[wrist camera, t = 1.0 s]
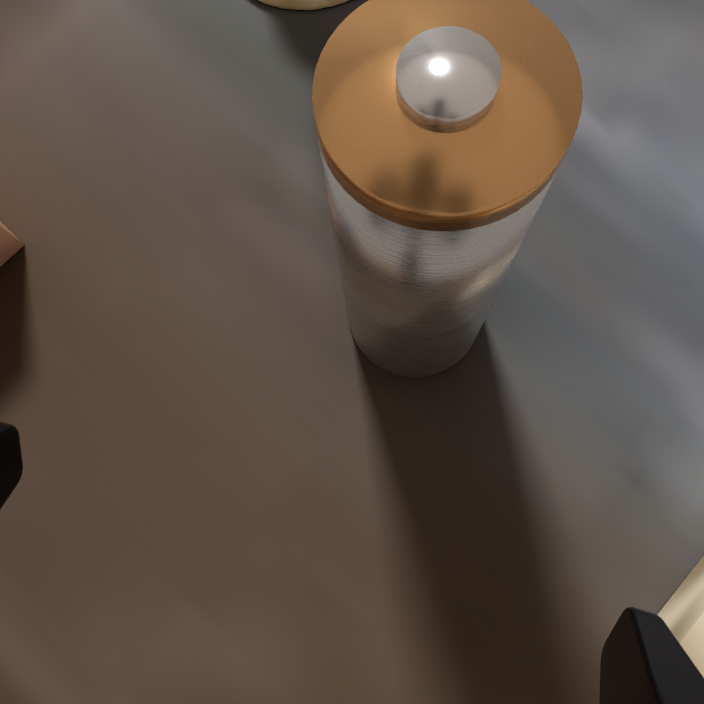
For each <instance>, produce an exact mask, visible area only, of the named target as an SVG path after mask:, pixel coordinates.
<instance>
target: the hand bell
mask: <svg viewBox="0 0 704 704" xmlns="http://www.w3.org/2000/svg"><path fill="white" fill-rule="evenodd" d="M258 1H260V2H262V3H265V4H267V5H270V6H274V7H278V8H284V9H293V10H314V9H321V8H326V7H331V6H335V5H339V4H341V3H344V2H346V1H348V0H258Z"/></svg>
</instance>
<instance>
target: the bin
mask: <svg viewBox="0 0 704 704" xmlns="http://www.w3.org/2000/svg"><path fill="white" fill-rule="evenodd" d="M23 246H24V244H23V243H22V242H21V241H20V240H19V239H18V238H17V237H16V236H15V235H14V234H13V233H12V232H11V231H10V230H9V229H8V228H7V227H6V226H5V225H4V224H3V223H2V222H1V221H0V267H1V266H2V265H3V264H4V263H5V262H6V261H7V260H8V259H10V258H11V257H12V256H13V255H14V254H15V253H16V252H17V251H18V250H19V249H21V248H22V247H23Z"/></svg>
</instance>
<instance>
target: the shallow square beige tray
mask: <svg viewBox="0 0 704 704" xmlns="http://www.w3.org/2000/svg"><path fill="white" fill-rule="evenodd" d="M658 616H659V617H661V618H662V619H663V621H664V622H665V623H666V625H667V626H668V628H669V629H670V630H671V632H672V633H673V635H674V636H675V637H676V639H677V640H678V642H679V643H680V645H681V646H682V647H683V649H684V650H685V652H686V653H687V655H688V656H689V657H690V659H691V660H692V662H693V663H694V664H695V666H696V667H697V669H698V670H699V672H700V673H701V674H702V676H703V677H704V556H703V557H702V558H701V560H700V561H699V562H698V563H697V565H696V566H695V567H694V569H693V570H692V571H691V572H690V574H689V575H688V576H687V578H686V579H685V580H684V581H683V583H682V584H681V585H680V587H679V588H678V589H677V590H676V592H675V593H674V594H673V595H672V597H671V598H670V599H669V601H668V602H667V603H666V604H665V606H664V607H663V608H662V610H661V611H660V612H659V613H658Z"/></svg>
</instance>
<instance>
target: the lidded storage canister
mask: <svg viewBox="0 0 704 704" xmlns="http://www.w3.org/2000/svg"><path fill="white" fill-rule="evenodd" d="M312 101H313V111H314V117H315V123H316V129H317V135H318V141H319V147H320V153H321V159H322V165H323V171H324V176H325V182H326V188H327V194H328V200H329V206H330V212H331V218H332V224H333V230H334V236H335V242H336V248H337V253H338V259H339V265H340V271H341V277H342V283H343V289H344V295H345V301H346V307H347V313H348V319H349V325H350V329H351V333H352V335H353V338H354V340H355V342H356V344H357V346H358V347H359V349H360V350H361V351H362V353H363V354H364V355H365V356H366V357H367V358H368V359H369V360H370V361H371V362H373V363H374V364H375V365H376V366H378V367H380V368H381V369H383V370H385V371H388V372H390V373H392V374H396V375H399V376H405V377H425V376H430V375H435V374H438V373H440V372H443V371H445V370H447V369H449V368H450V367H452V366H453V365H455V364H456V363H458V362H459V361H460V360H461V359H462V358H463V357H464V356H465V355H466V354H467V352H468V351H469V350H470V348H471V346H472V345H473V343H474V341H475V339H476V337H477V335H478V333H479V331H480V329H481V327H482V325H483V323H484V321H485V319H486V316H487V314H488V312H489V310H490V308H491V306H492V304H493V302H494V300H495V298H496V296H497V294H498V292H499V290H500V288H501V286H502V283H503V281H504V279H505V277H506V275H507V273H508V271H509V269H510V267H511V265H512V263H513V261H514V259H515V257H516V255H517V253H518V250H519V248H520V246H521V244H522V242H523V240H524V238H525V236H526V234H527V232H528V230H529V228H530V226H531V224H532V222H533V220H534V217H535V215H536V213H537V211H538V209H539V207H540V205H541V203H542V201H543V199H544V197H545V195H546V193H547V191H548V189H549V186H550V184H551V182H552V180H553V178H554V176H555V174H556V172H557V170H558V168H559V166H560V164H561V162H562V160H563V158H564V156H565V153H566V151H567V149H568V147H569V145H570V143H571V141H572V139H573V136H574V134H575V131H576V129H577V126H578V122H579V118H580V114H581V108H582V81H581V76H580V72H579V67H578V64H577V62H576V59H575V56H574V54H573V51H572V49H571V48H570V46H569V44H568V42H567V41H566V39H565V37H564V36H563V35H562V33H561V32H560V31H559V29H558V28H557V27H556V25H555V24H554V23H553V22H552V21H551V20H550V19H549V18H548V17H547V16H546V15H545V14H544V13H542V12H541V11H540V10H539V9H537V8H536V7H535V6H533V5H532V4H531V3H529V2H527V1H526V0H368V1H367V2H365V3H364V4H362V5H361V6H359V7H358V8H357V9H356V10H354V11H353V12H352V13H351V14H350V15H348V16H347V17H346V18H345V19H344V20H343V22H342V23H341V24H340V25H339V26H338V27H337V28H336V29H335V31H334V32H333V34H332V35H331V36H330V38H329V39H328V41H327V43H326V45H325V47H324V48H323V50H322V52H321V54H320V57H319V60H318V63H317V66H316V69H315V74H314V79H313V90H312Z"/></svg>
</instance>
